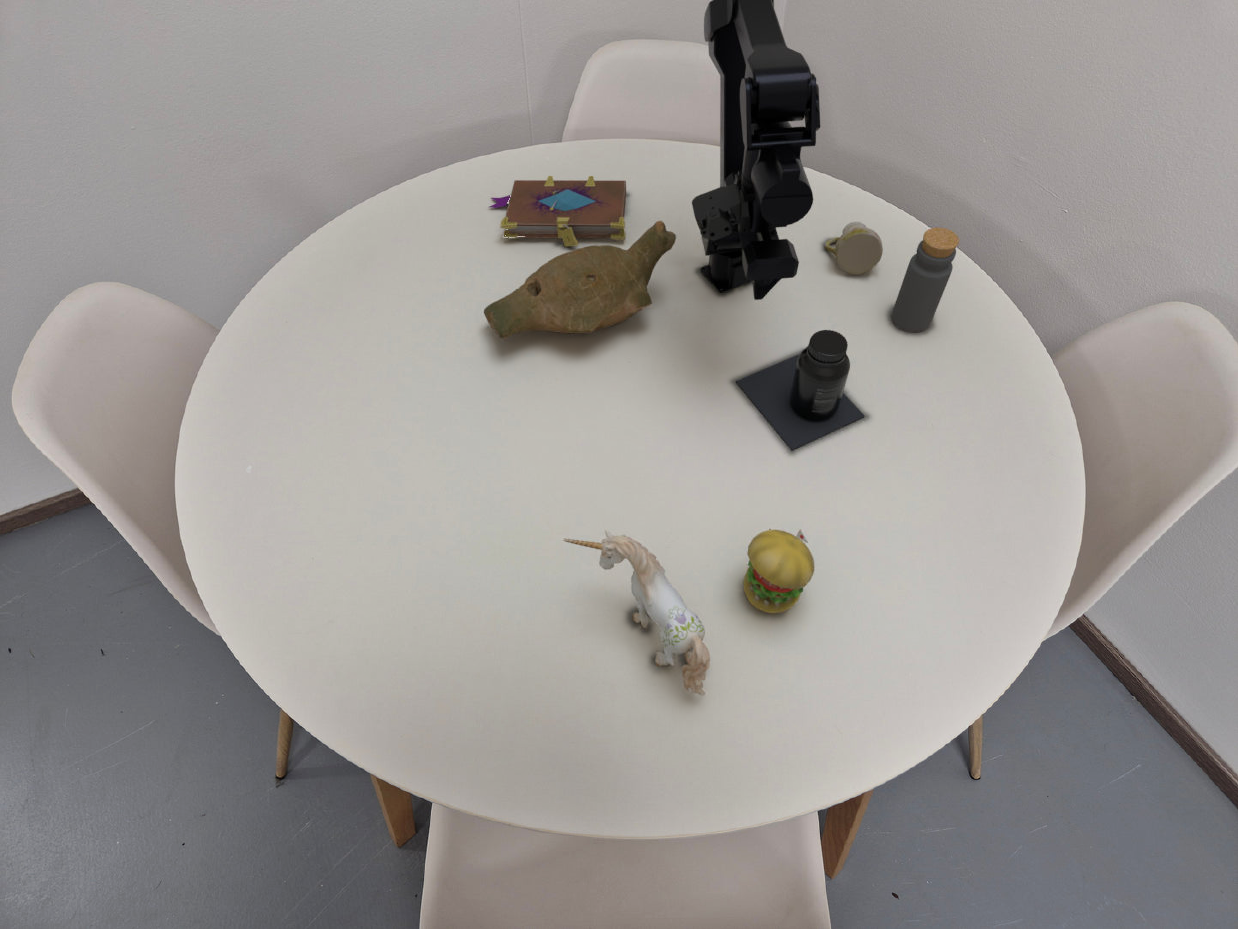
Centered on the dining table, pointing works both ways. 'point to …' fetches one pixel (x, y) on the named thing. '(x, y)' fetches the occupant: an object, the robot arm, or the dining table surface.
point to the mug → (856, 248)
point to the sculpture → (583, 288)
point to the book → (565, 209)
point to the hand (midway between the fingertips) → (751, 275)
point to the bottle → (925, 280)
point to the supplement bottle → (820, 376)
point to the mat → (774, 404)
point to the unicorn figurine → (659, 606)
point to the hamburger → (777, 570)
